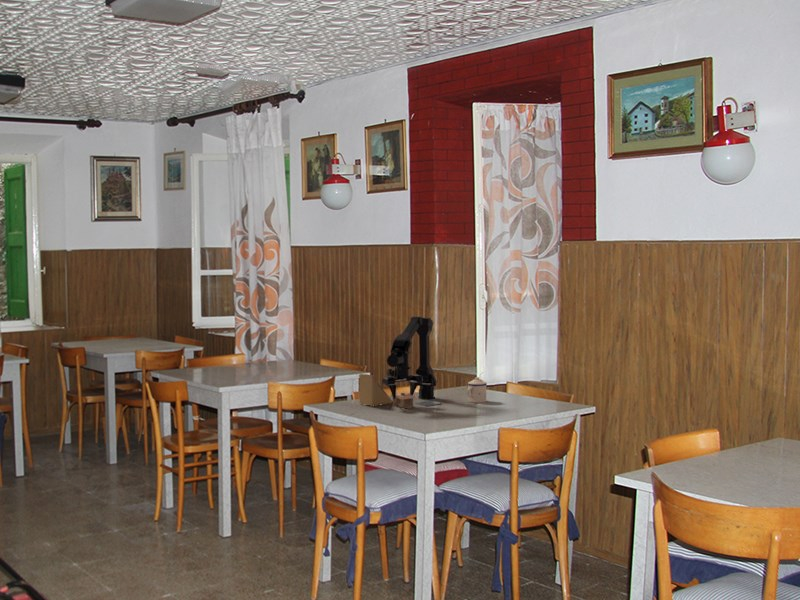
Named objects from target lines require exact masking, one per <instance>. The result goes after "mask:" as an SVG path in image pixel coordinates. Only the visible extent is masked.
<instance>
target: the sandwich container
mask: <svg viewBox="0 0 800 600" xmlns="http://www.w3.org/2000/svg"><path fill="white" fill-rule="evenodd" d="M358 381H359V382H358V383H359V385H358V386H359V388H358V389H359V404H360V403H361V404H366V405H371V406H373V405H379V406H381V405H380V404H384V405H387V404H386V403H389V404H393V403H392V402H393V399H391V396H389V395H388V393H387V392H386V391H385V390H384V389H383V388H382V386H381V385H380V384H379V382H378V381H377V380H376V379H375V377H374V376H373V375H372V374H367V373H359V374H358ZM371 406H370V407H371ZM373 407H374V406H373Z"/></svg>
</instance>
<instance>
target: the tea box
mask: <svg viewBox="0 0 800 600" xmlns="http://www.w3.org/2000/svg"><path fill="white" fill-rule="evenodd" d="M392 401H393V403H392V406H393V407H395V406H396V408H398V407H400V408H399V409H402V408H408V409H414V398H412V399H399V398H395V399H394V398H393V397H392Z"/></svg>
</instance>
